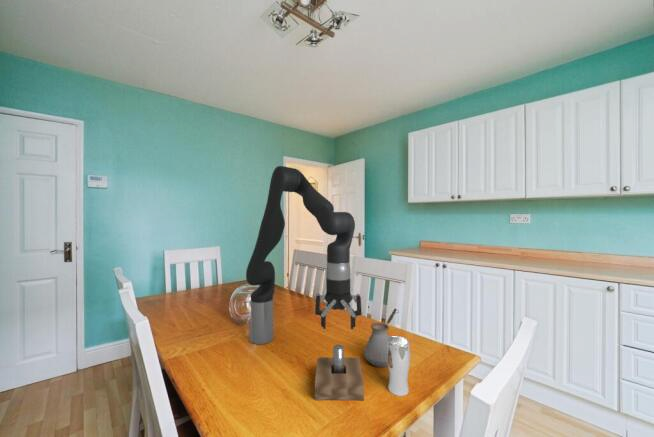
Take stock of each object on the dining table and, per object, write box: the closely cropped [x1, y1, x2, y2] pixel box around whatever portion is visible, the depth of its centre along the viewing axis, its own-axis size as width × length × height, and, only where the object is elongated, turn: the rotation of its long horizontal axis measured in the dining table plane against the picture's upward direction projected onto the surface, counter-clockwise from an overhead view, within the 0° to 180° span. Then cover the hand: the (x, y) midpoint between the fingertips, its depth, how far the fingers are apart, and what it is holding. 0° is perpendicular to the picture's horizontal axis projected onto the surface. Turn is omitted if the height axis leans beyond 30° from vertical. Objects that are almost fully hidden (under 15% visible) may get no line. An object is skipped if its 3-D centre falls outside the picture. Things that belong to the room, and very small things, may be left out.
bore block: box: [314, 357, 365, 401], centre depth 86 cm, size 14×14×5 cm
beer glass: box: [386, 335, 411, 397], centre depth 83 cm, size 7×7×15 cm
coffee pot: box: [363, 308, 400, 368], centre depth 103 cm, size 21×12×15 cm, turn 143°
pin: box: [332, 344, 345, 374], centre depth 86 cm, size 3×3×11 cm
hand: (338, 328), depth 85 cm, fingers open, 8 cm apart
